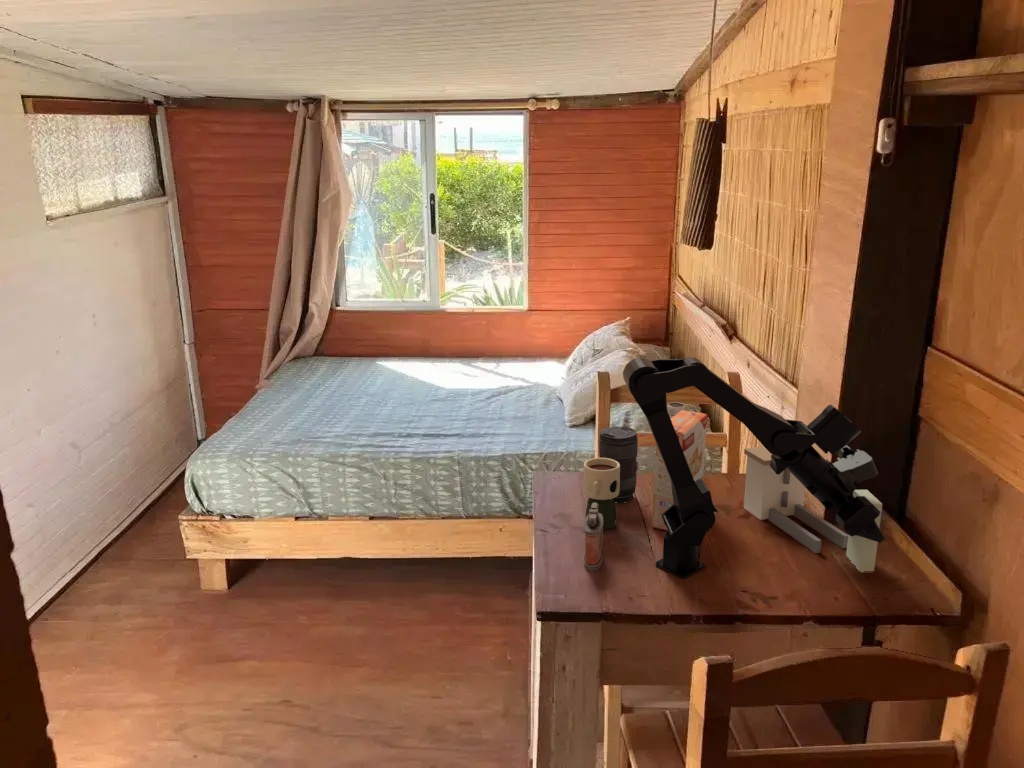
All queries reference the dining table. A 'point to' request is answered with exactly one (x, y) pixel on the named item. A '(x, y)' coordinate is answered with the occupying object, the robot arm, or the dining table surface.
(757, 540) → the dining table surface
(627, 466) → the camera lens
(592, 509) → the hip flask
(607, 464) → the character mug
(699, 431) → the cracker box
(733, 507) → the dining table surface
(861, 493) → the rectangular block
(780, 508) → the cabinet
